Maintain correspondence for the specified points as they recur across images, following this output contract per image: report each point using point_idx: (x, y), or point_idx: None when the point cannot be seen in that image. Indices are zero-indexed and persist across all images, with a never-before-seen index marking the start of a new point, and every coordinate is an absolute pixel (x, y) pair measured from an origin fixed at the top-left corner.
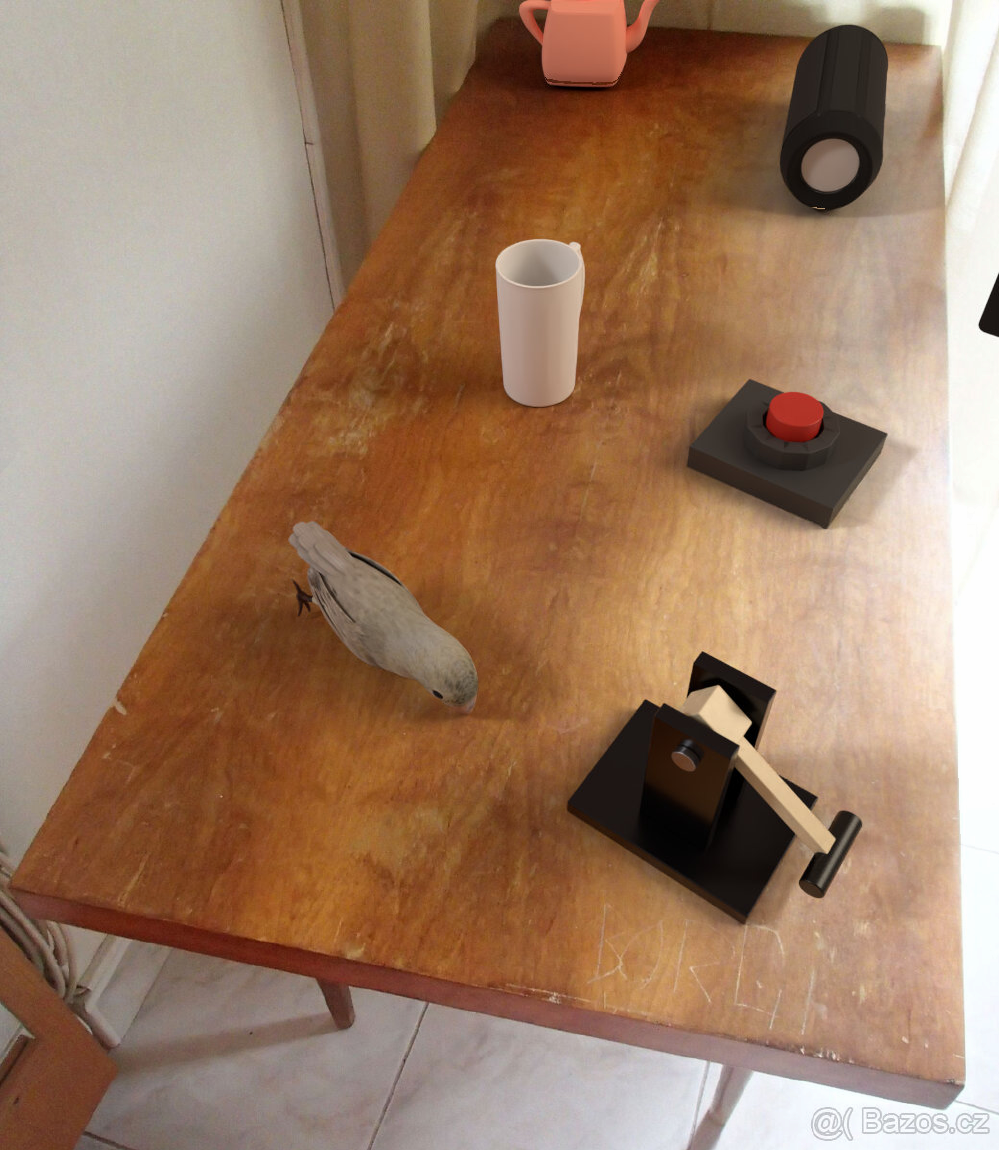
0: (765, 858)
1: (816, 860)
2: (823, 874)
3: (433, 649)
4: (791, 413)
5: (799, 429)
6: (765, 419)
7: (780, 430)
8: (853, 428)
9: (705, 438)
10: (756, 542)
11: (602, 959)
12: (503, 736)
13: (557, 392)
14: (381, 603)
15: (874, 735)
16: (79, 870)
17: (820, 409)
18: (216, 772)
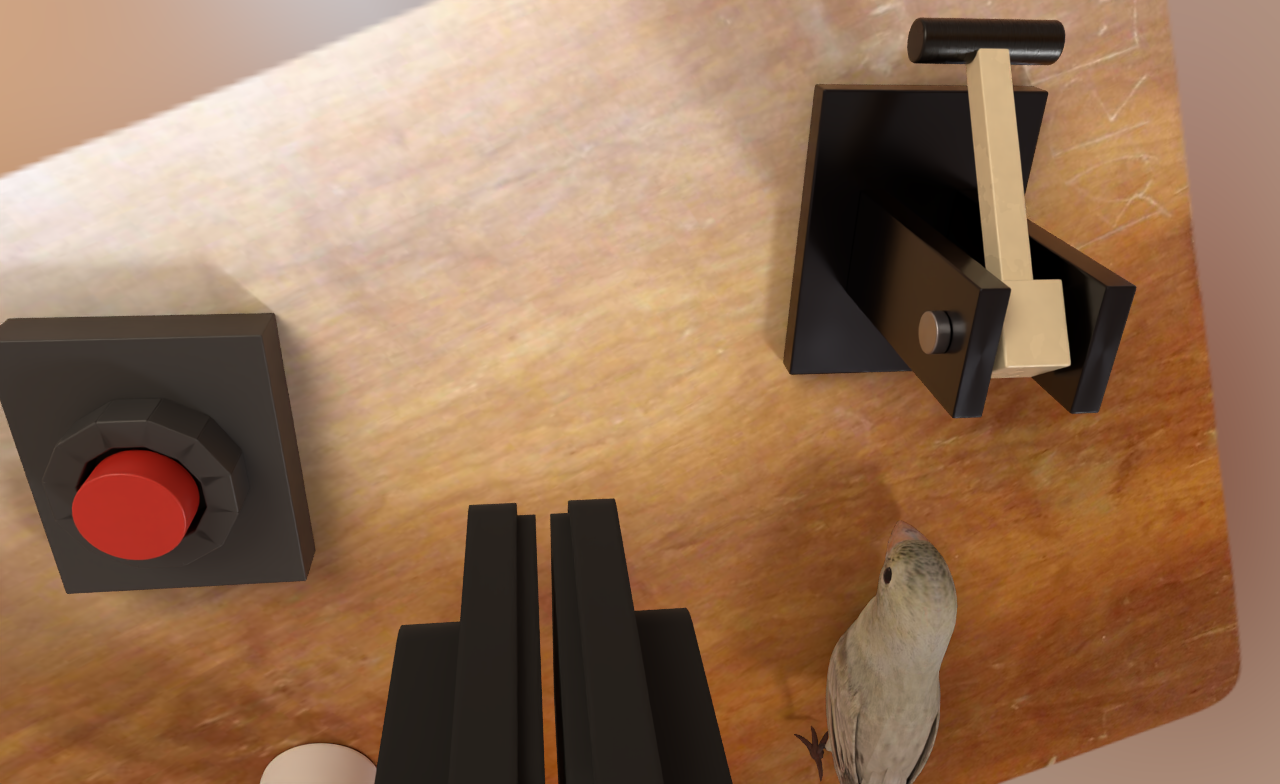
0: (954, 111)
1: (1022, 58)
2: (1043, 39)
3: (943, 633)
4: (151, 519)
5: (172, 487)
6: None
7: (193, 507)
8: (26, 398)
9: (270, 572)
10: (388, 389)
11: (1138, 216)
12: (908, 473)
13: (337, 764)
14: (919, 717)
15: (642, 56)
16: (1219, 670)
17: (94, 486)
18: (1081, 658)
